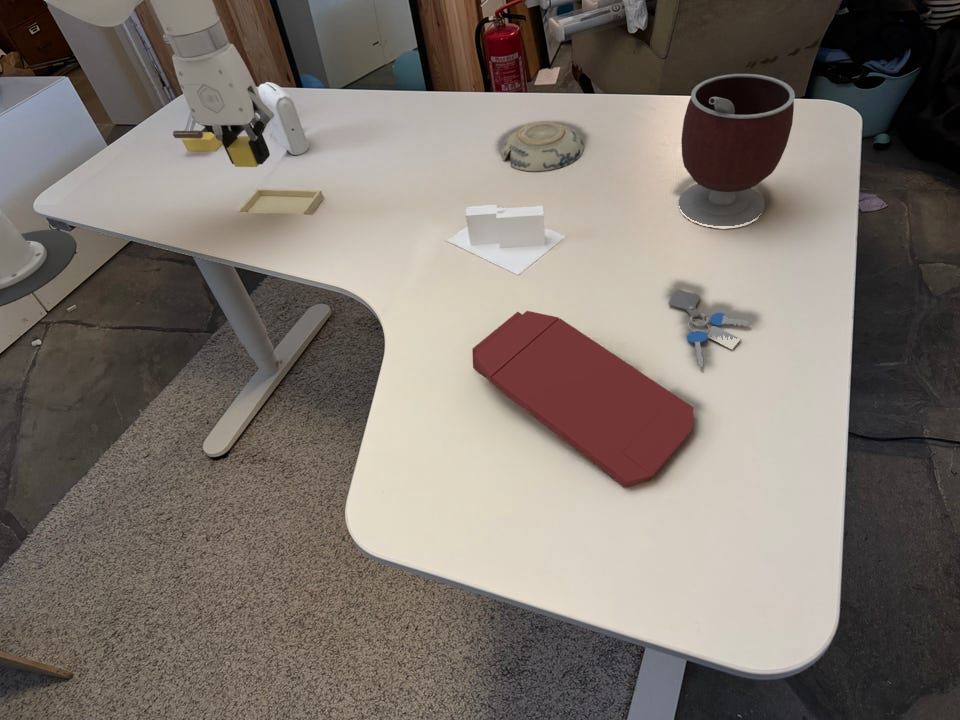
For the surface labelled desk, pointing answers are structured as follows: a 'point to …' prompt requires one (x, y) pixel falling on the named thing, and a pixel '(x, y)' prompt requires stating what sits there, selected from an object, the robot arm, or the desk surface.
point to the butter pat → (242, 153)
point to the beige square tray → (283, 201)
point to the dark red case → (585, 395)
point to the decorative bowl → (542, 147)
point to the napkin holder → (506, 235)
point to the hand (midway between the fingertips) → (251, 158)
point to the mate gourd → (733, 145)
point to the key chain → (718, 319)
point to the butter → (202, 143)
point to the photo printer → (283, 118)
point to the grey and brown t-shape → (188, 130)
